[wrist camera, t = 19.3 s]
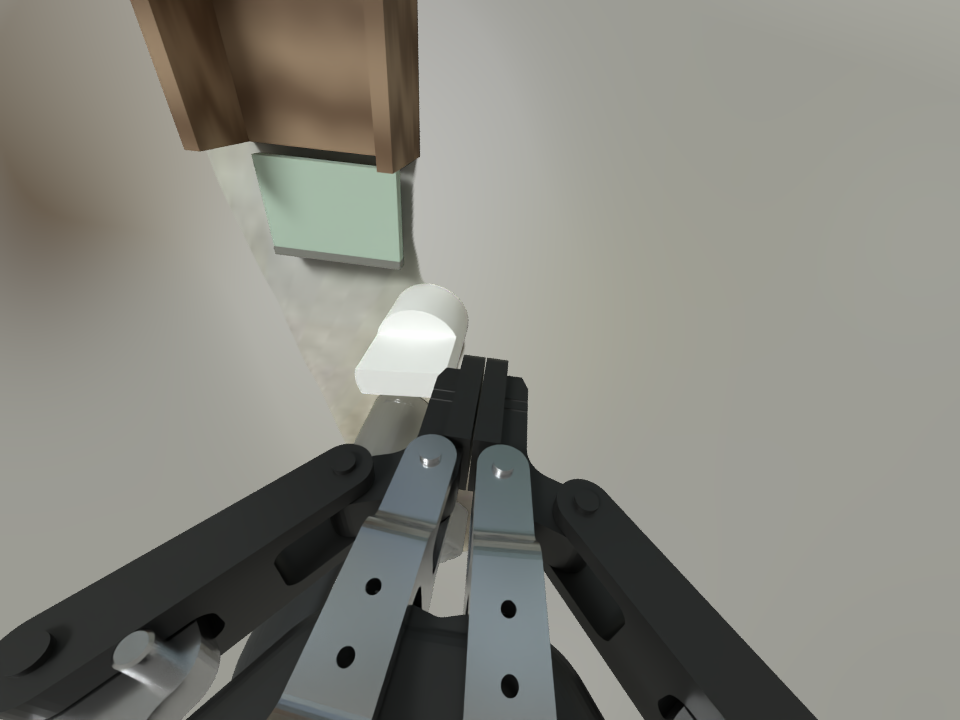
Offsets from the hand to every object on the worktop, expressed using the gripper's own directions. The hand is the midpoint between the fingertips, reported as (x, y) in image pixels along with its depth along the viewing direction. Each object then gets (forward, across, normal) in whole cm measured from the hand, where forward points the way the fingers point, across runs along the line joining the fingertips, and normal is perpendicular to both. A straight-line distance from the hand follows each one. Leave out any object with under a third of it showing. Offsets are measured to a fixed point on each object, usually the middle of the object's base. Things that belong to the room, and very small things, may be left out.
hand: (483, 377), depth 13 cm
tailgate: (+25, +17, -1) cm, 30 cm away
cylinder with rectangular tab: (+27, +8, +15) cm, 32 cm away
